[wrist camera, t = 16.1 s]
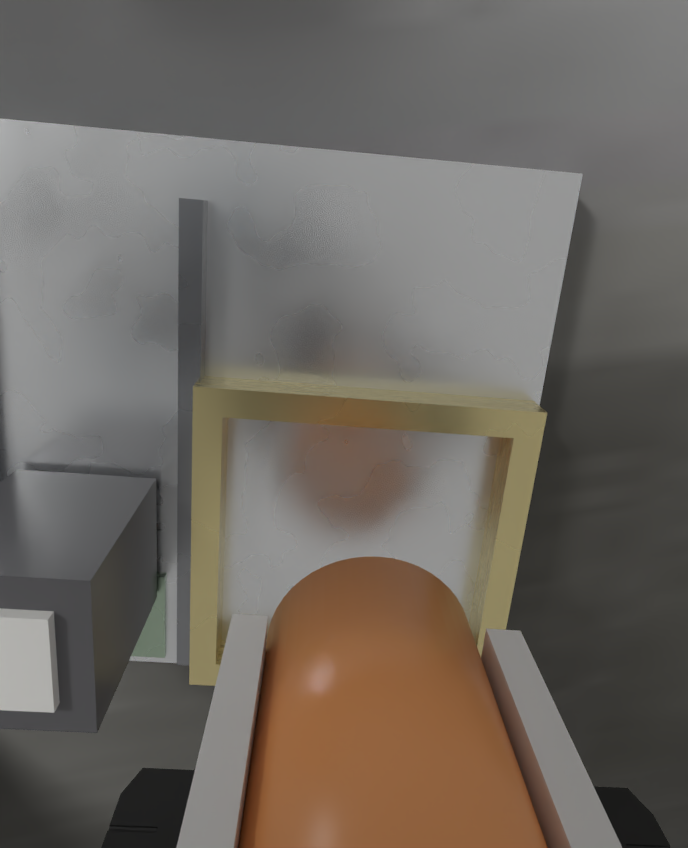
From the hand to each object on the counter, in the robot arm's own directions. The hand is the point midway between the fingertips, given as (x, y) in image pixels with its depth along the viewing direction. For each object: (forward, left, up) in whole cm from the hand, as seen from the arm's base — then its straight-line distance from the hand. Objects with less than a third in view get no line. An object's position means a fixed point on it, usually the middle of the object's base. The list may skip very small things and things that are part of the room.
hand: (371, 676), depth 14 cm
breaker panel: (-3, -4, -8) cm, 9 cm away
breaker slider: (0, -8, -6) cm, 10 cm away
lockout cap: (0, 0, -1) cm, 1 cm away
